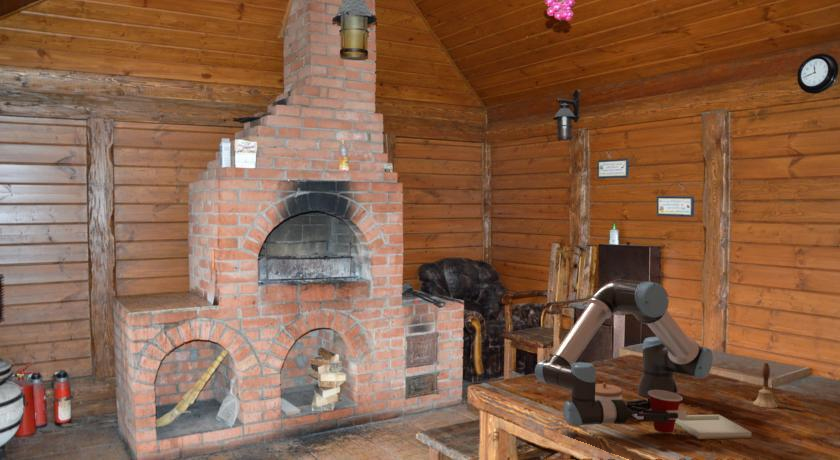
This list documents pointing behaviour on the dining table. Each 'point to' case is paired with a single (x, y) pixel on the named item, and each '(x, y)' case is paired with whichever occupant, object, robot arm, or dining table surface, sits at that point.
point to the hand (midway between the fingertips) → (678, 409)
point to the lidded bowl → (607, 392)
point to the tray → (712, 427)
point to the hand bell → (765, 391)
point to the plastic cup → (664, 407)
